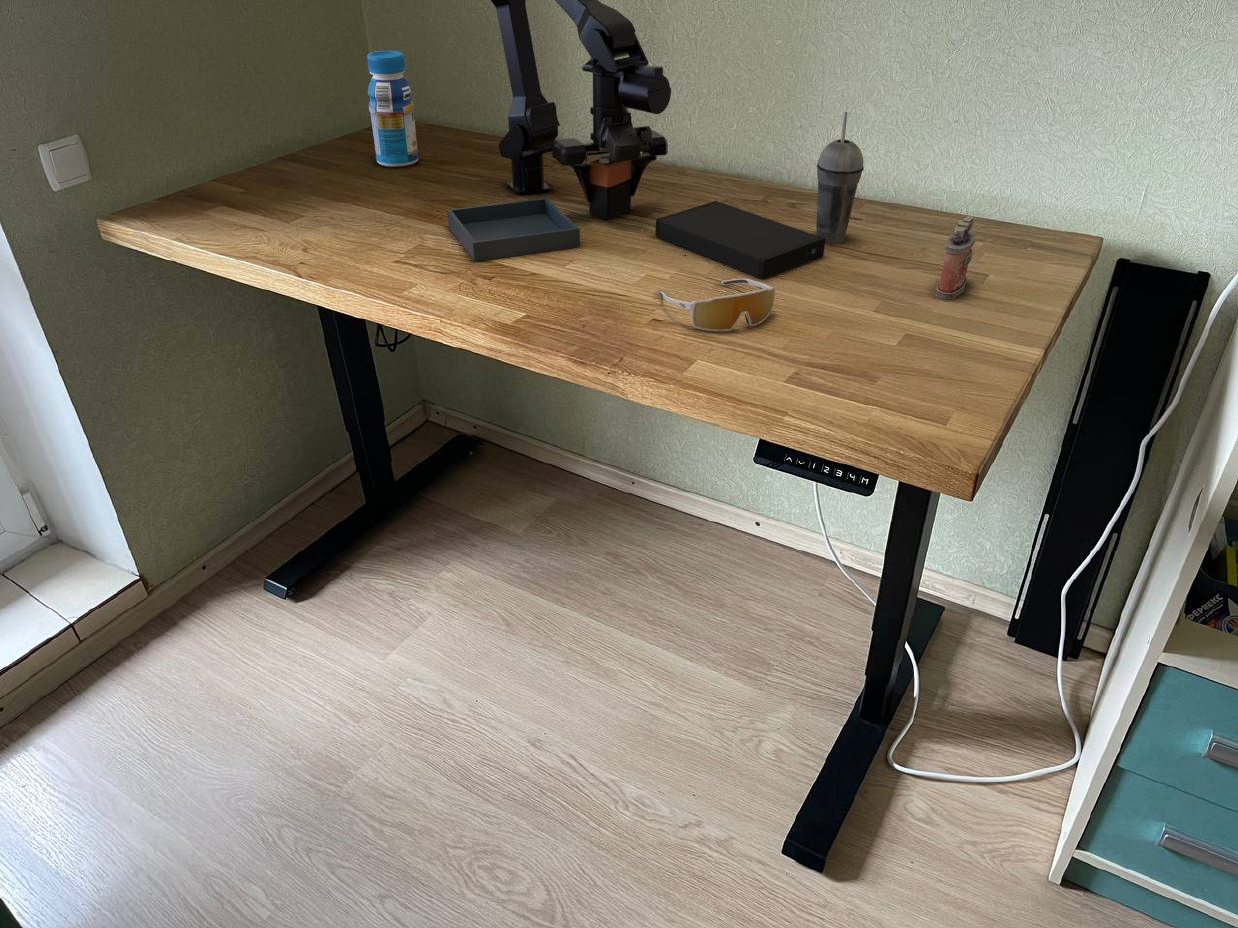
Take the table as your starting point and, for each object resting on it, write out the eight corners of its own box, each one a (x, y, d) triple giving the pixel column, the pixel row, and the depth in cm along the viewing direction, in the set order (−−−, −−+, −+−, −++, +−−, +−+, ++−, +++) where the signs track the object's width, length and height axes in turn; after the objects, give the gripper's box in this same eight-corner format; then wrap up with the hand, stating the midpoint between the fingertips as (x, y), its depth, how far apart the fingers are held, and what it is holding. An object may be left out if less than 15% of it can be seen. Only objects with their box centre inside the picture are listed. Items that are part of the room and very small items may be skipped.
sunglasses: (697, 340, 123) (696, 302, 121) (647, 310, 136) (646, 276, 134) (790, 322, 128) (791, 285, 126) (734, 295, 141) (735, 261, 138)
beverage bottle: (368, 161, 189) (353, 53, 178) (404, 153, 193) (392, 47, 182) (390, 171, 184) (377, 60, 172) (428, 162, 188) (417, 54, 177)
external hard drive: (716, 217, 163) (717, 200, 161) (823, 256, 148) (826, 238, 147) (655, 237, 155) (655, 219, 153) (762, 280, 140) (764, 260, 139)
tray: (448, 227, 158) (447, 209, 156) (547, 214, 163) (546, 197, 162) (474, 261, 145) (472, 243, 144) (580, 247, 151) (579, 228, 149)
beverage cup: (857, 234, 157) (877, 108, 146) (847, 249, 151) (866, 118, 140) (814, 227, 159) (830, 102, 148) (802, 241, 154) (817, 113, 143)
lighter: (954, 300, 135) (969, 232, 129) (930, 295, 136) (944, 227, 131) (969, 282, 140) (985, 215, 135) (947, 277, 142) (960, 211, 136)
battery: (632, 210, 166) (633, 152, 160) (608, 221, 161) (608, 161, 155) (612, 205, 168) (612, 147, 162) (588, 215, 163) (587, 156, 158)
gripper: (573, 120, 145) (575, 220, 154) (684, 110, 151) (679, 206, 160) (549, 104, 154) (552, 199, 162) (655, 94, 160) (652, 187, 168)
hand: (610, 198), depth 163 cm, fingers closed on battery, 7 cm apart
